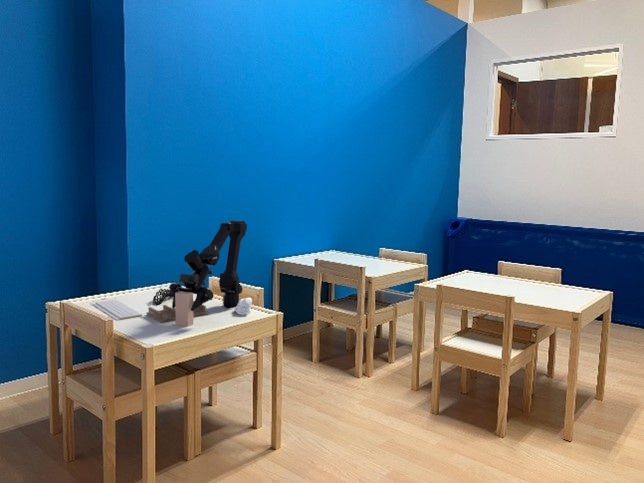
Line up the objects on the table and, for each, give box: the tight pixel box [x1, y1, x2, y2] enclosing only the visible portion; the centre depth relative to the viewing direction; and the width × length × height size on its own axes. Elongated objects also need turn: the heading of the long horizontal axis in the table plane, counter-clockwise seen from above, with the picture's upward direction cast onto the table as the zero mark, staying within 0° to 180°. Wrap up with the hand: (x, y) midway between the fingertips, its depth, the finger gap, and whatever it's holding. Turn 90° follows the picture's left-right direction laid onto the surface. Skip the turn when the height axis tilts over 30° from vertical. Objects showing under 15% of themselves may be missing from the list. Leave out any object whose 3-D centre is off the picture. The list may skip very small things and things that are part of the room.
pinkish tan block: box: [175, 291, 194, 327], centre depth 217 cm, size 4×6×13 cm, turn 66°
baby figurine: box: [233, 297, 253, 316], centre depth 238 cm, size 9×12×8 cm
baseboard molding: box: [89, 297, 143, 321], centre depth 236 cm, size 31×3×12 cm
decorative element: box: [151, 288, 173, 306], centre depth 257 cm, size 22×5×6 cm, turn 170°
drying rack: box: [146, 300, 209, 324], centre depth 231 cm, size 21×15×4 cm
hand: (182, 309), depth 216 cm, fingers open, 9 cm apart
